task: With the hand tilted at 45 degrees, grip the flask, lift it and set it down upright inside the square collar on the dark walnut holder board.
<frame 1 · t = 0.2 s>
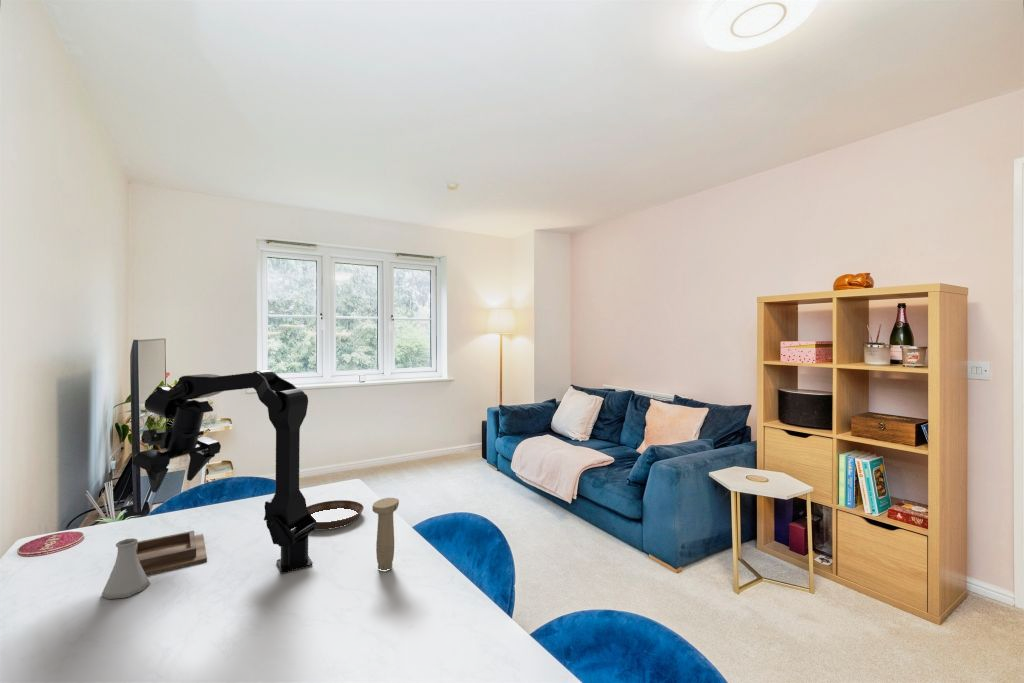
hand: (172, 485, 112), 15 cm above the table, tool tilted 15°, fingers open, 9 cm apart
ring: (330, 521, 131), on the table
holder: (163, 557, 108), on the table
handle: (385, 570, 104), on the table
flask: (126, 591, 94), on the table
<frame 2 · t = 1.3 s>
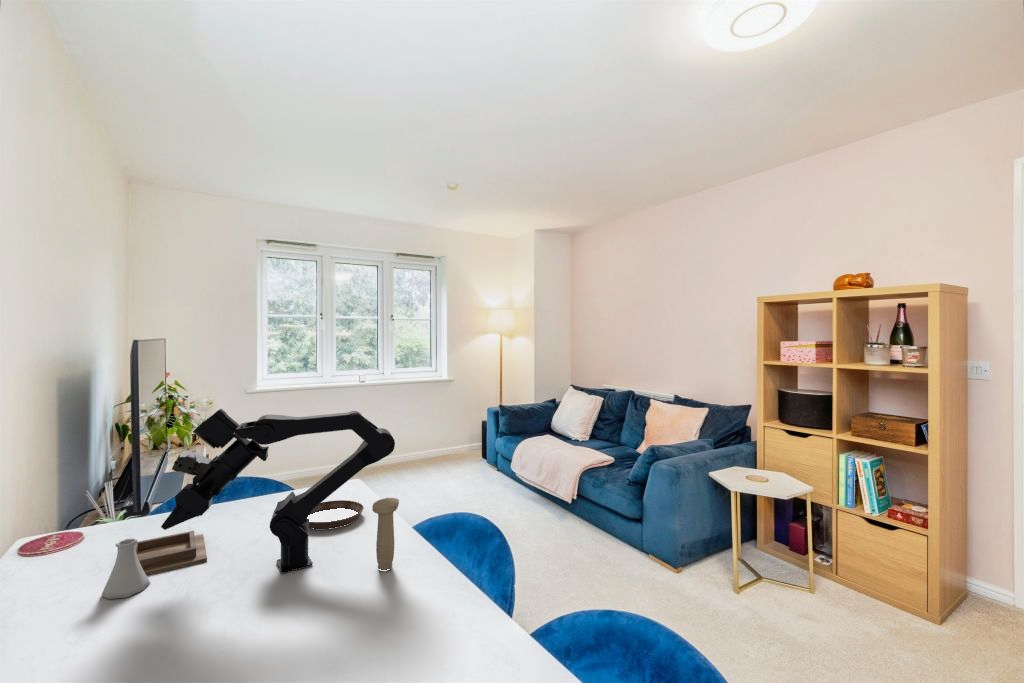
hand: (170, 519, 97), 13 cm above the table, tool tilted 45°, fingers open, 9 cm apart
nothing on the table moved.
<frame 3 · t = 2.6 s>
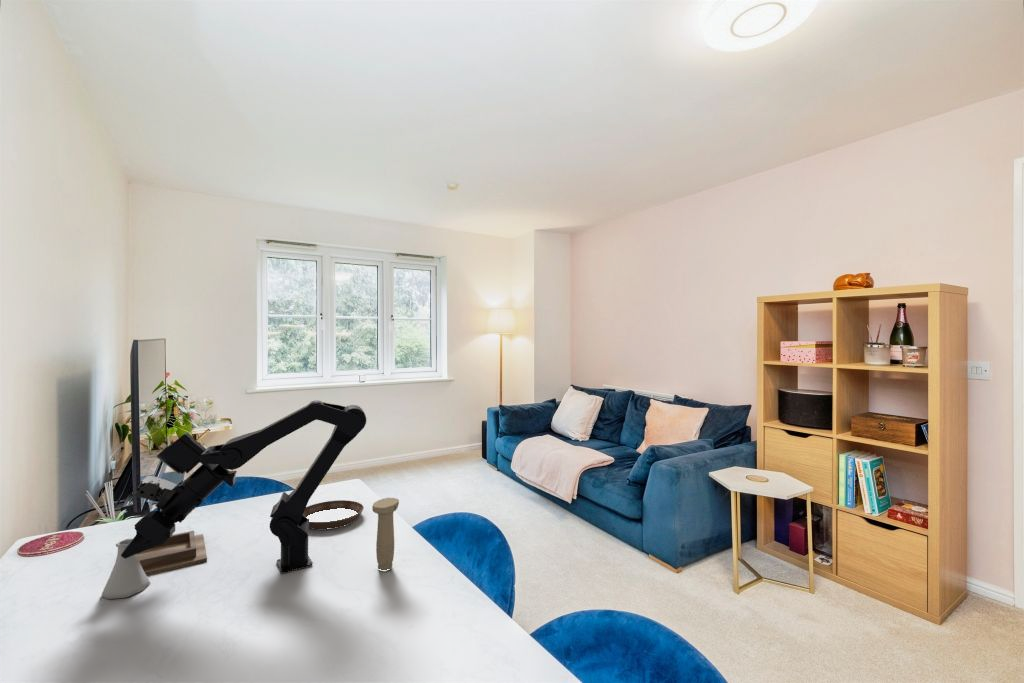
hand: (132, 546, 94), 9 cm above the table, tool tilted 45°, fingers open, 9 cm apart
nothing on the table moved.
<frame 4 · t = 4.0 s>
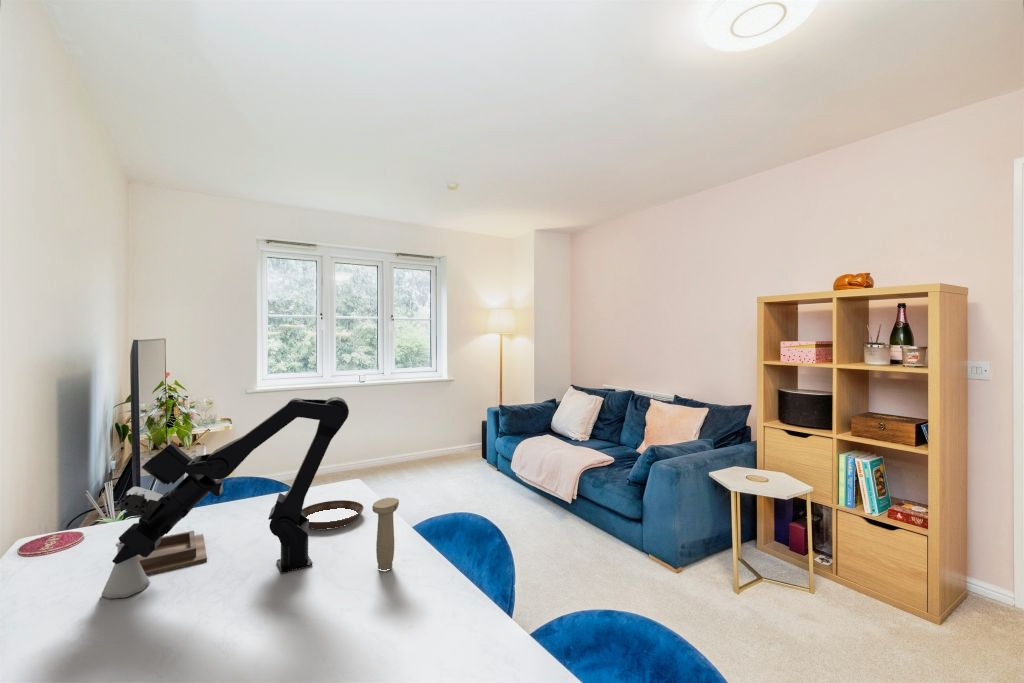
hand: (118, 558, 93), 7 cm above the table, tool tilted 45°, fingers closed on flask, 3 cm apart
flask: (126, 591, 94), on the table, touching gripper
everything else where it was.
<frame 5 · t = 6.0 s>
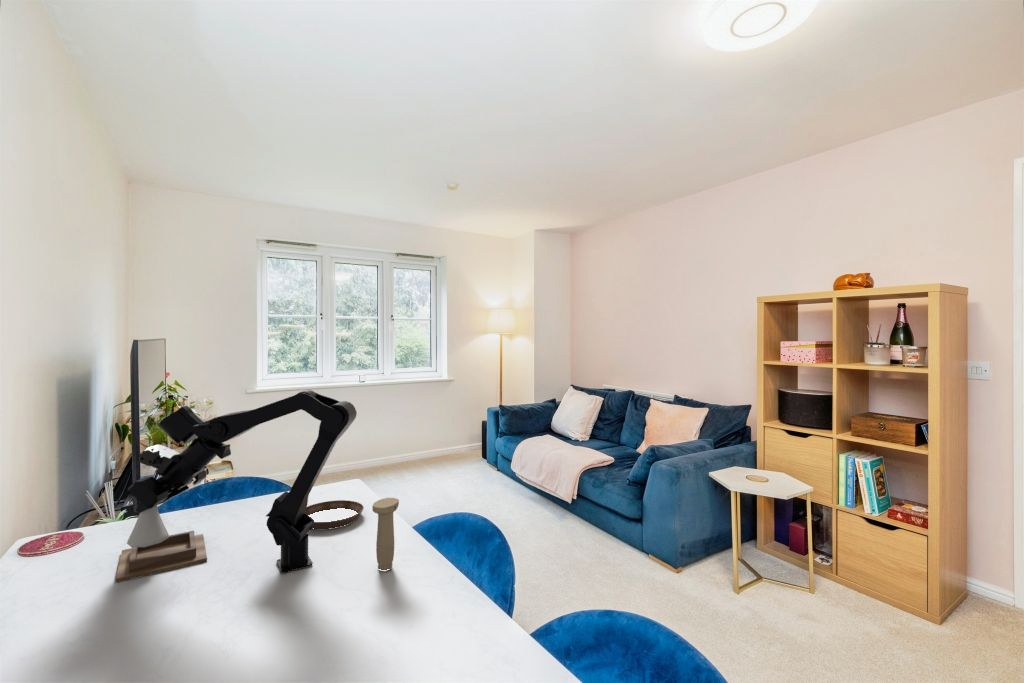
hand: (142, 508, 103), 13 cm above the table, tool tilted 45°, fingers closed on flask, 3 cm apart
flask: (148, 542, 103), point 6 cm above the table, touching gripper
everything else where it was.
when the fingers open (9 cm above the table, at t = 7.8 s): flask stays where it is, resting on holder.
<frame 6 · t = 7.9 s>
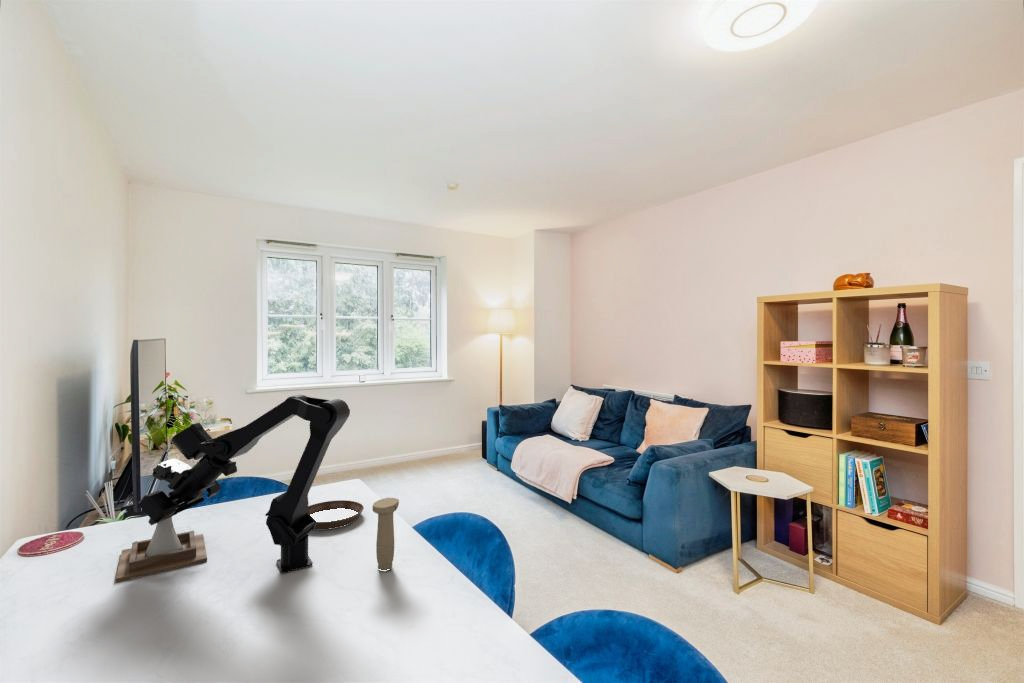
hand: (158, 519, 108), 9 cm above the table, tool tilted 45°, fingers open, 4 cm apart
flask: (164, 554, 108), point 1 cm above the table, touching holder
everything else where it was.
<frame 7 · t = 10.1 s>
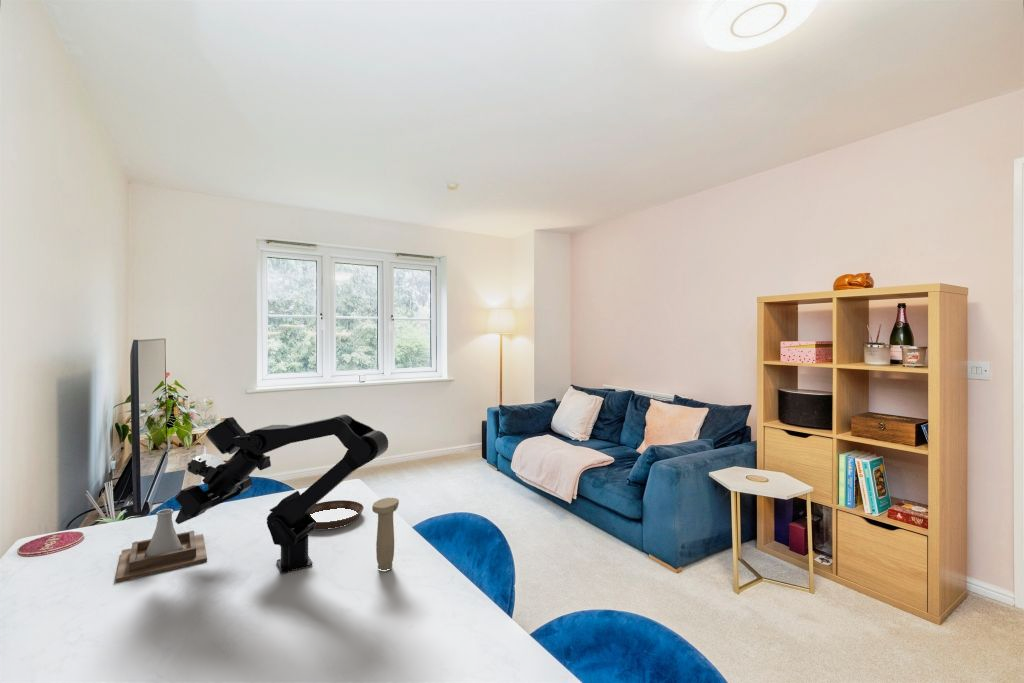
hand: (192, 514, 107), 10 cm above the table, tool tilted 45°, fingers open, 9 cm apart
nothing on the table moved.
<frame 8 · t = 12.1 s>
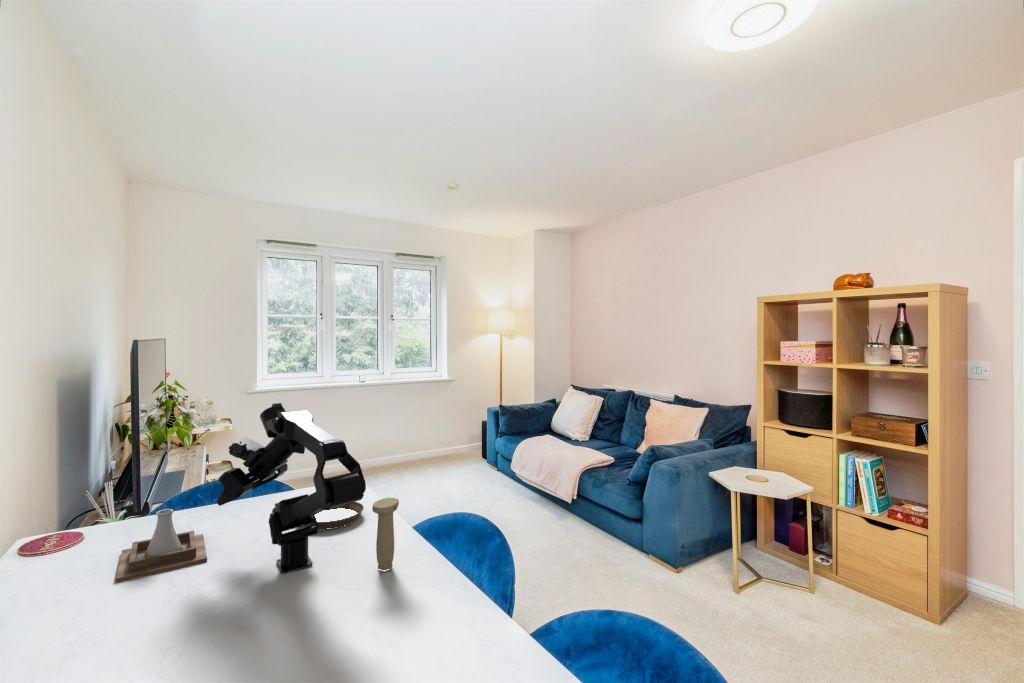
hand: (231, 497, 110), 14 cm above the table, tool tilted 45°, fingers open, 9 cm apart
nothing on the table moved.
at the end: flask 0.1 cm off-centre on the holder, point 0.6 cm above the holder's base; flask tilted 0°; the gripper is holding nothing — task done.
